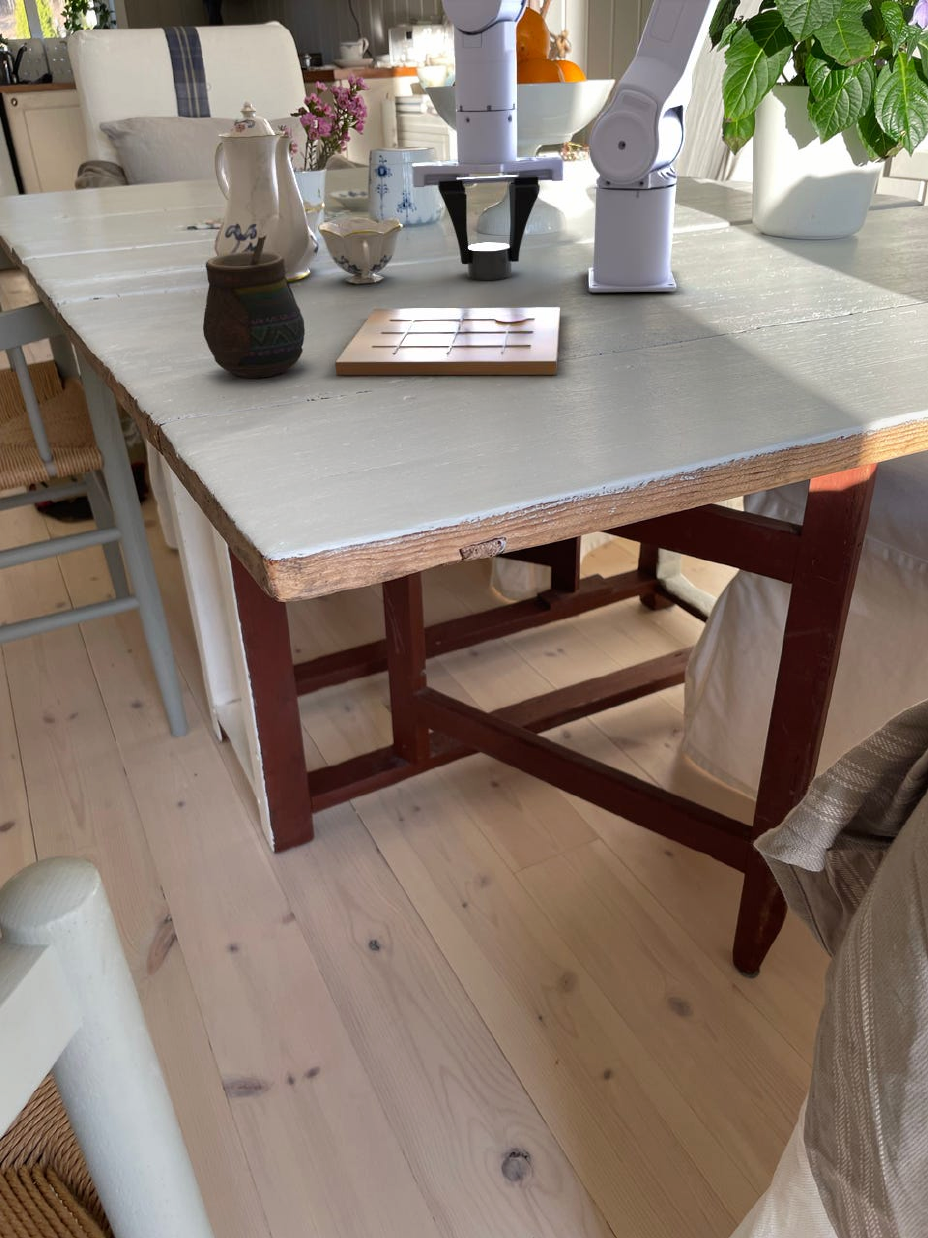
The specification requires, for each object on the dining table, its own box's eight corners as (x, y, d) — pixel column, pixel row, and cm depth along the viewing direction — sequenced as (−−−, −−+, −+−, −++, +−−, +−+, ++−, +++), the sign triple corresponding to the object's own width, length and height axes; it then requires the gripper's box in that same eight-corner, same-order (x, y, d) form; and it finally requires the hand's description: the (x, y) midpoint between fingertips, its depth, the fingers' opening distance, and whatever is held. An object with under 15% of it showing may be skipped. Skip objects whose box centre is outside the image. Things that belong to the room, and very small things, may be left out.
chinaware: (434, 294, 99) (440, 111, 92) (292, 305, 90) (286, 101, 82) (292, 259, 118) (288, 104, 111) (162, 265, 108) (147, 96, 101)
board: (375, 320, 85) (374, 307, 84) (560, 318, 83) (560, 305, 82) (336, 375, 71) (334, 360, 70) (556, 374, 69) (556, 359, 69)
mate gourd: (274, 350, 77) (256, 216, 72) (331, 368, 72) (316, 225, 67) (194, 371, 73) (169, 230, 68) (248, 392, 68) (226, 241, 63)
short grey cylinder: (470, 271, 101) (469, 242, 100) (512, 270, 101) (512, 242, 99) (466, 280, 97) (465, 250, 96) (510, 279, 97) (509, 250, 95)
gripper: (410, 115, 88) (419, 272, 94) (570, 108, 88) (566, 265, 95) (408, 110, 94) (416, 258, 101) (557, 104, 94) (555, 251, 101)
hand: (489, 261), depth 98 cm, fingers closed on short grey cylinder, 4 cm apart
